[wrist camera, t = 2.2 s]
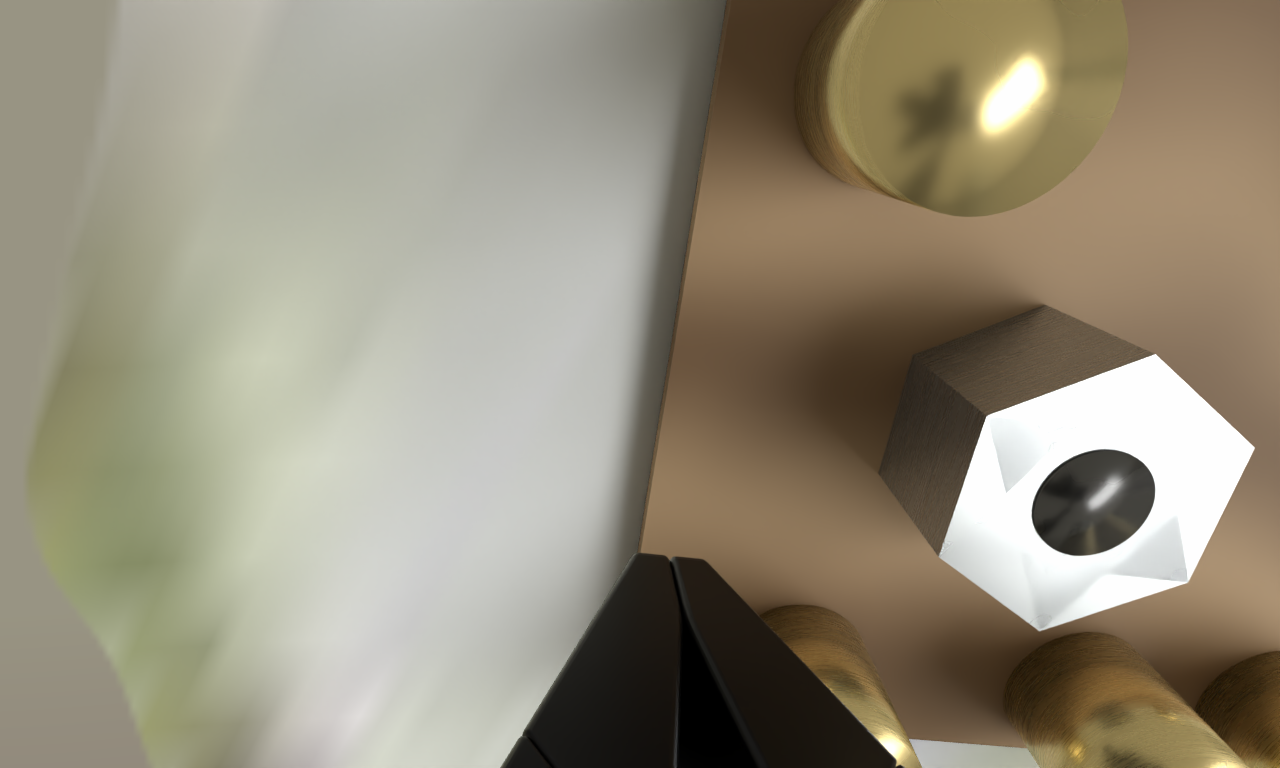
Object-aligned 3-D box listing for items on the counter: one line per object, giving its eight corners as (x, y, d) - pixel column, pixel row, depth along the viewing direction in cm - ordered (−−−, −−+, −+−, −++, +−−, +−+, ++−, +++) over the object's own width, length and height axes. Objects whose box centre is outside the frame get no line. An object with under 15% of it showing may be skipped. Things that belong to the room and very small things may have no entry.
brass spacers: (1328, 763, 18) (1481, 903, 15) (669, 709, 17) (682, 850, 14) (1766, 88, 13) (2164, 80, 9) (825, -76, 11) (910, -151, 8)
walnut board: (1477, 767, 20) (1539, 813, 18) (614, 696, 18) (613, 742, 16) (1969, 113, 14) (2113, 114, 12) (743, -102, 12) (759, -128, 10)
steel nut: (1062, 548, 16) (1160, 644, 13) (862, 527, 15) (918, 621, 13) (1156, 319, 14) (1294, 373, 11) (931, 289, 14) (1015, 336, 11)
